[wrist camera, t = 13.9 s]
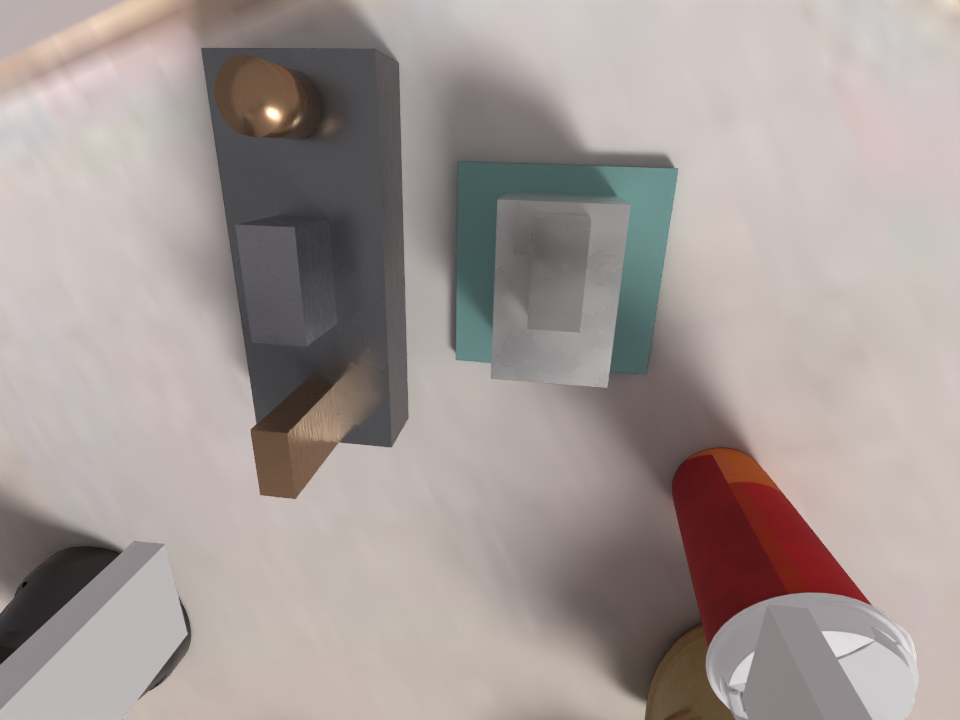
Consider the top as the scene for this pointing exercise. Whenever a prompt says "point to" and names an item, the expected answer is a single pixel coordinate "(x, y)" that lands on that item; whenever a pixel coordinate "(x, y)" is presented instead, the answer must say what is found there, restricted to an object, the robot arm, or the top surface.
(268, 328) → the hand plane
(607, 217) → the lever cap
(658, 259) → the rubber mat
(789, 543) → the coffee cup
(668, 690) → the ceramic vessel
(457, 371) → the top surface
